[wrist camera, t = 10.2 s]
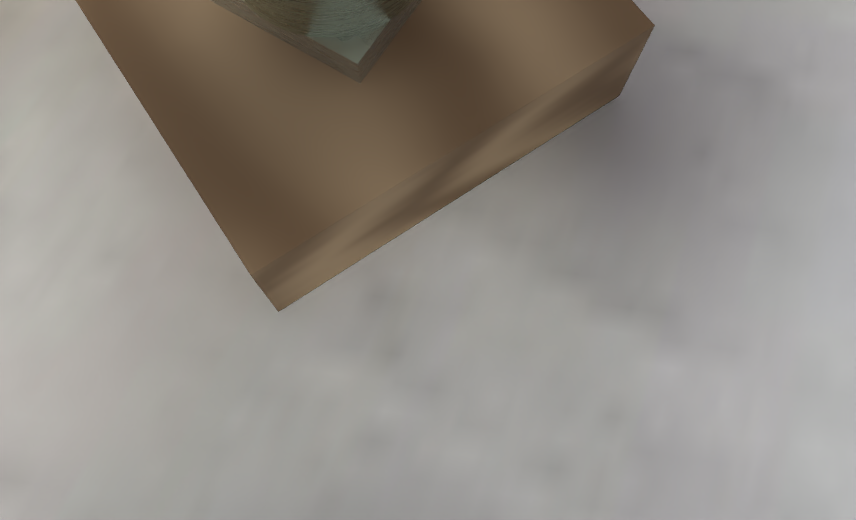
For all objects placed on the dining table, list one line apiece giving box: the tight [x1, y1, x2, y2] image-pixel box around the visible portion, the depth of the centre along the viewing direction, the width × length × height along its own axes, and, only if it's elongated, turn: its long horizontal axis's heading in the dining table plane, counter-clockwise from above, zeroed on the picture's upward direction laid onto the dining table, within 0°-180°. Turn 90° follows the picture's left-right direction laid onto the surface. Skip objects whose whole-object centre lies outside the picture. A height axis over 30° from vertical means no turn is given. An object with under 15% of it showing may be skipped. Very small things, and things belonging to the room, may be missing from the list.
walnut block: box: [76, 0, 655, 312], centre depth 24 cm, size 14×14×4 cm
